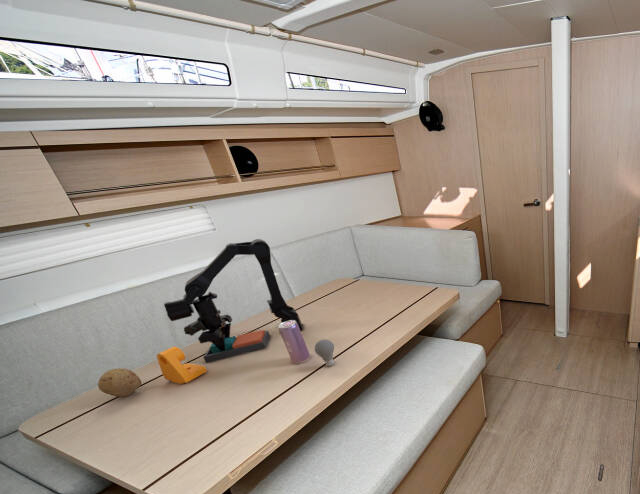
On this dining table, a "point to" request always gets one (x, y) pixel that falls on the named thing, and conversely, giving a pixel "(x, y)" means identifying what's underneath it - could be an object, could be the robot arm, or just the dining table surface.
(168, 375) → the bracket
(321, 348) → the light bulb
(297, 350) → the beverage can
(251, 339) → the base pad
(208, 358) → the pad tray
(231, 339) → the teal pad
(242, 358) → the dining table surface
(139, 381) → the potato
